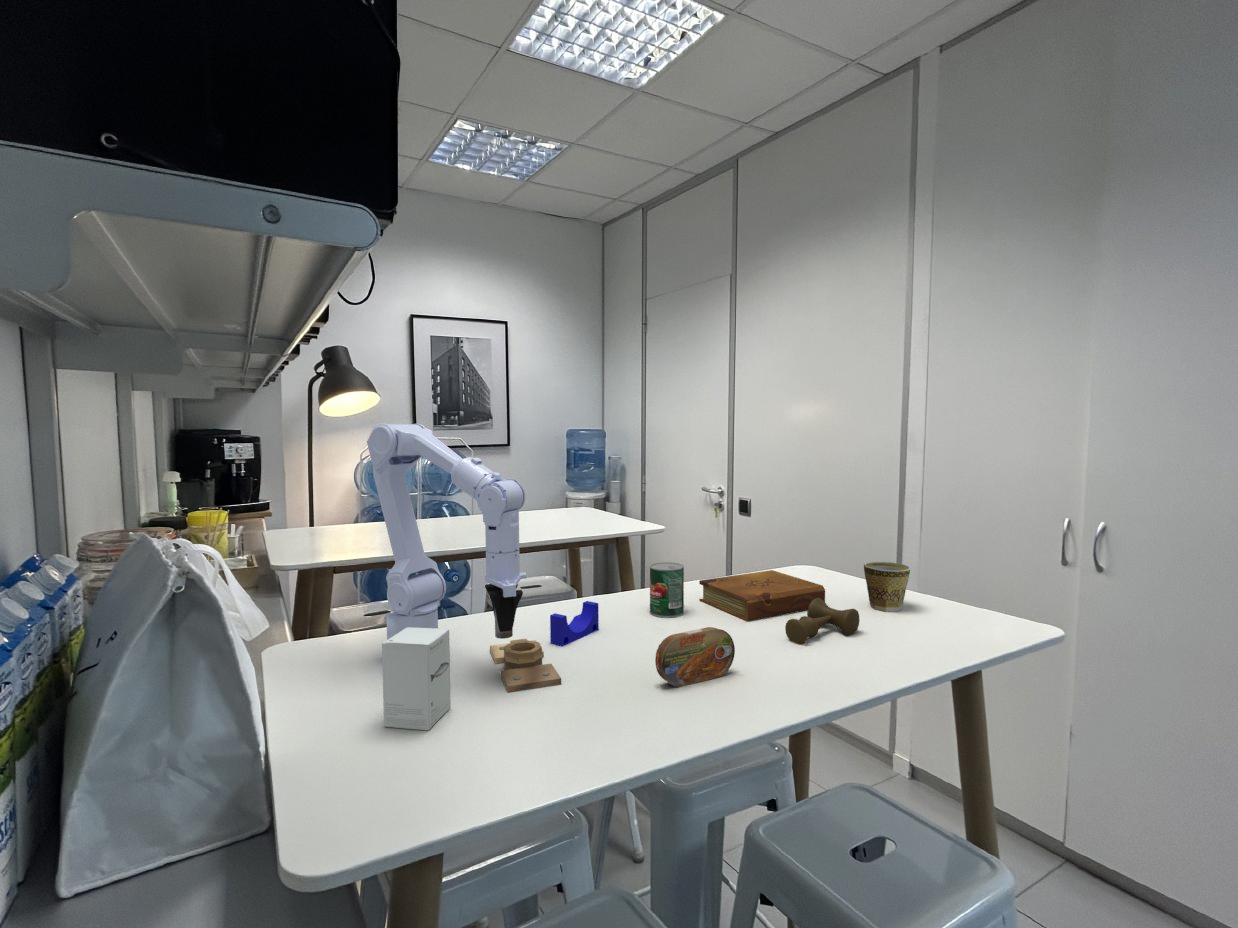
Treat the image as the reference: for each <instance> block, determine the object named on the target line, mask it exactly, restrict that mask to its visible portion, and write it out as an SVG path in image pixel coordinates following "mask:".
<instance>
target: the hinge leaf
mask: <svg viewBox="0 0 1238 928" xmlns="http://www.w3.org/2000/svg"><path fill="white" fill-rule="evenodd" d="M489 652H490V654H491V657H492V659H493V661H494V664H498V665H499V664H504V658H505V660H506V662H511V663H517V664H522V663H529V662H535V661H536V660H538V659H539V658H541V657H542V658H545V657H544V655H545V654H544V650H543V647H542V645H541V643H540V642H538V641H537V639H533V640H528V638H520V639H513V640H510V642H509V643H502V644H494V645H492V644H491V645H489Z"/></svg>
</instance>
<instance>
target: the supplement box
mask: <svg viewBox="0 0 1238 928" xmlns="http://www.w3.org/2000/svg"><path fill="white" fill-rule="evenodd" d="M450 647H451V646H450V629H449V628H438V629H437V628H410V627H407V628H405V629H403V630H402V631H400V632H399V633H397V634H396V635H394V636H393V637H391V638H390V639H388V640H387V639H386V640H384V641H383V642H382V643H381V654H382V657H381V658H382V660H381V661H382V694H383V696H382V698H383V701H382V702H383V703H382V704H383V705H382V706H383V727H385V728H397V729H407V730H419V731H430V730H431V729H432V727H434V725H435V724H436V723H437V722H438V721H439V720H440V719H441V718H442V717H443V716H444V715H445V714H446V713H447V712H448V711H449V710H450V709H451V706H452V702H451V700H452V699H451V659H450V658H451V657H450V656H451V654H450V652H451V651H450Z"/></svg>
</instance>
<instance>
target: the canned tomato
mask: <svg viewBox="0 0 1238 928" xmlns="http://www.w3.org/2000/svg"><path fill="white" fill-rule="evenodd" d="M684 570H685V566H684V565H683V564H682V563H679V562H678V563H677V562H671V561H670V562H666V561H664V562H663V561H661V562H655V563H652V564H651V563H650V565H649V614H650V615H652V616H654V617H657V618H664V619H668V618H669V619H670V618H678V617H681V616H682V615H684V612H685V611H684V610H685V609H684V608H685V605H684V602H685V601H684V600H685V597H684V595H685V594H684V592H685V591H684V589H685V587H684V582H685V581H684V580H685V579H684V577H685V572H684Z"/></svg>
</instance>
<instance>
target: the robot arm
mask: <svg viewBox="0 0 1238 928" xmlns="http://www.w3.org/2000/svg"><path fill="white" fill-rule="evenodd" d="M366 444H367V448H368V452H369V456H370V460H371V464H372V474H373V479H374V483H375V487H376V491H377V495H378V498H379V502H380V507H381V510H382V515H383V520H384V523H385V528H386V530H387V531H386V532H387V535H388V538H389V539H388V540H389V543H390V546H391V547H390V548H391V553H392V554H393V560H394V562H395V563H394V565H393V566H392V567H391V569H390V570H389V572H387V575H386V577H385V579H386V583H387V584H386V585H387V590H386V591H387V592H386V597H387V603H388V605H389V607H390V608H391V610H392V612H387V613H386V640H388V639H390V638H391V637H393V636H394V635H396V634H397V633H399V632H400V631H402V630H403V629H405V628H407V627H410V628H437V629H439V616H438V615H439V614H438V613H439V612H438V611H439V610H438V607H440V606H441V601H442V600H443V599H444V597H445V595H446V592H447V584H446V581H445V578H444V577H443V574H442V573H441V572H440V570H439V567H438V563H437V562H436V561H434V559H432V558H430V557H428V556H427V555H426V554H425V551H424V546H423V543H422V538H421V534H420V530H419V526H418V522H417V519H416V514H415V510H414V506H413V503H412V499H411V495H410V492H409V487H408V483H407V482H408V481H407V479H406V475H407V474H408V471H409V470H410V469H412V468H413V467H414V466H415V465H416V463H418V461H419V460H420V459H421V458H424V459H425V460H427V461H429V462H430V463H432V464H434V465H435V466H437V467H438V468H440V469H441V470H444V471H445V472H447V473H448V474H450V477H451V483H452V484H453V485H454V486H456V487H457V488H459V490H461V491H462V492H464V493H465V494H466V495H468V496H469V497H471V498H473V499H474V500H475V501H476V503H477V507H478V509H479V510H480V512H481V514H482V522H483V523H484V526H485V528H484V529H485V530H484V531H485V532H484V533H485V573H486V575H485V577H484V579H485V580H484V581H485V582H486V583H488V584H485V585H484V588H485V589H486V591H487V593H488V596H489V599H490V602H491V605H492V611H493V616H494V618H495V611H496V617H497V623H498V627H499V630H500V632H504V631H512V628H513V627H514V624H515V618H516V612H517V608H518V606H519V603H520V601H521V599H522V597H523V595H524V591H523V590H522V589H517V588H518V586H519V582H520V581H521V580H523V579H524V580H525V579H527V577H528V575H527V572H525V571H523V572H521V567H520V566H521V565H520V563H521V562H520V514H519V513H520V512H519V511H520V510H521V509H522V508H523V506H524V504H525V501H526V493H525V489H524V487H523V486H522V484H521V483H520V482H518V480H517V479H515V478H503V477H502V474H501V473H499V472H498V471H497V472H494V471H493V470H491V469H490V468H489V467H487V466H486V465H484V464H483V459H480V458H479V457H472V456H471V457H469V456H468V457H465V458H462V456H460V455H459V454H458V453H456V452H455V451H454V450H452V449H451V448H450V447H448V445H446V444H445V443H443V442H442V440H439V438H437V437H436V436H434V433H433V430H431V429H430V428H426V426H424V425H423V424H421V423H413V424H409V423H408V424H407V423H405V424H399V423H398V424H397V423H396V424H393V423H392V424H389V423H379V424H377V425H376V426H374V427H373V429H372V430H371V432H370V435H369V436H368V439H367V440H366ZM414 573H416V574H415V575H411V574H414ZM410 575H411V576H410ZM513 629H514V628H513Z"/></svg>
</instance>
